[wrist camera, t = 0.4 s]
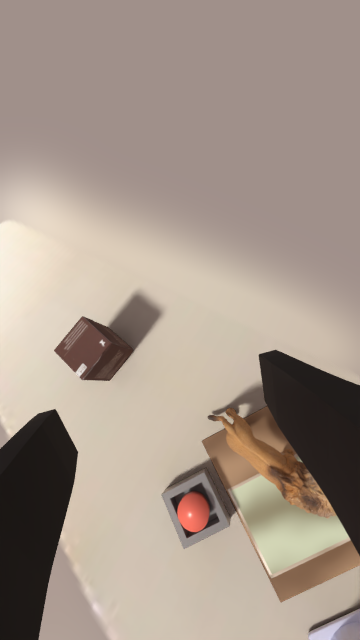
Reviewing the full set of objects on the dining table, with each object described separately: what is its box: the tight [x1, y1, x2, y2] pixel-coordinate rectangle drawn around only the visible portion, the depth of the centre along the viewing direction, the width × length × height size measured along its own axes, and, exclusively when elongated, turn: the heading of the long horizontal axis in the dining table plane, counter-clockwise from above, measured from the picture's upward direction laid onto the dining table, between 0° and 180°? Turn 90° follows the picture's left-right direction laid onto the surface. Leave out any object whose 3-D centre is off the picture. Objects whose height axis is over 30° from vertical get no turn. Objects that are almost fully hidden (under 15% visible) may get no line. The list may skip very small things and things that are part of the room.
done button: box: [177, 491, 210, 532], centre depth 31 cm, size 4×4×2 cm
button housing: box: [162, 468, 230, 549], centre depth 32 cm, size 6×6×2 cm
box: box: [54, 316, 133, 381], centre depth 38 cm, size 6×6×7 cm
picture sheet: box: [202, 406, 360, 602], centre depth 32 cm, size 18×15×1 cm
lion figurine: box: [208, 408, 336, 519], centre depth 29 cm, size 15×5×9 cm, turn 63°
